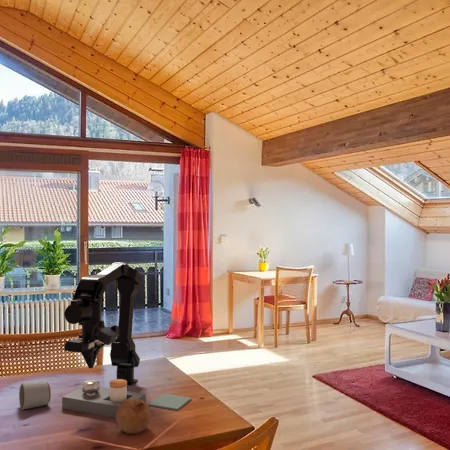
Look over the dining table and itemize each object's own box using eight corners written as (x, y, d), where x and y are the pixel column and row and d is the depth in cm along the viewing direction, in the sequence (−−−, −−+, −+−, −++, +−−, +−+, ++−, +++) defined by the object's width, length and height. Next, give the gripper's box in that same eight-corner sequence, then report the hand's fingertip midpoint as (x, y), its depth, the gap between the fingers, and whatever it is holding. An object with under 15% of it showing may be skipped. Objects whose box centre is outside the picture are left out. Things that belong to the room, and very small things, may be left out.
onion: (143, 445, 136) (154, 417, 133) (109, 439, 134) (119, 410, 131) (145, 420, 145) (155, 393, 142) (113, 413, 143) (123, 386, 140)
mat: (163, 396, 165) (163, 393, 165) (191, 400, 161) (191, 397, 161) (148, 407, 156) (148, 404, 156) (177, 412, 152) (177, 408, 152)
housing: (86, 396, 164) (86, 384, 164) (145, 406, 156) (145, 393, 156) (62, 409, 153) (62, 396, 153) (124, 421, 145) (124, 407, 145)
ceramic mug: (52, 407, 155) (52, 382, 155) (24, 413, 150) (24, 387, 150) (42, 397, 163) (42, 374, 163) (15, 402, 159) (15, 378, 159)
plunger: (88, 400, 160) (88, 379, 159) (102, 402, 158) (102, 381, 158) (78, 406, 155) (78, 384, 155) (92, 408, 153) (92, 386, 153)
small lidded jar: (115, 405, 156) (115, 378, 156) (130, 407, 154) (130, 380, 154) (106, 410, 151) (106, 383, 151) (120, 413, 149) (121, 385, 149)
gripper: (95, 325, 144) (94, 380, 144) (130, 314, 162) (129, 363, 162) (63, 322, 148) (62, 375, 148) (100, 312, 166) (100, 359, 166)
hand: (90, 368), depth 156 cm, fingers closed
